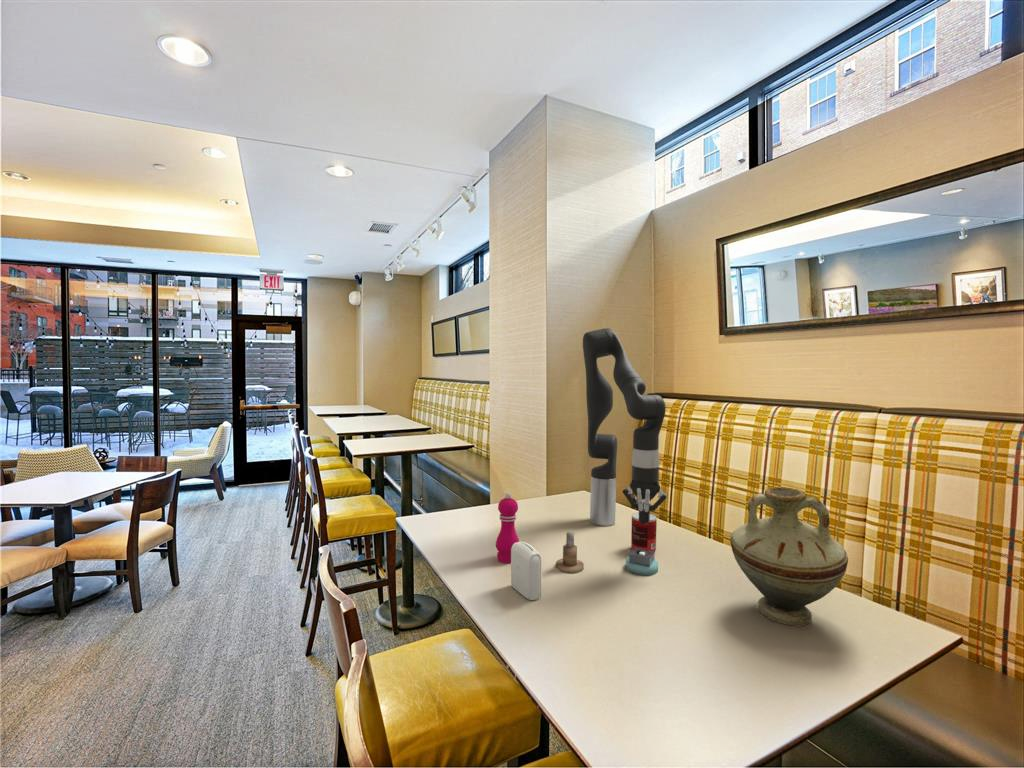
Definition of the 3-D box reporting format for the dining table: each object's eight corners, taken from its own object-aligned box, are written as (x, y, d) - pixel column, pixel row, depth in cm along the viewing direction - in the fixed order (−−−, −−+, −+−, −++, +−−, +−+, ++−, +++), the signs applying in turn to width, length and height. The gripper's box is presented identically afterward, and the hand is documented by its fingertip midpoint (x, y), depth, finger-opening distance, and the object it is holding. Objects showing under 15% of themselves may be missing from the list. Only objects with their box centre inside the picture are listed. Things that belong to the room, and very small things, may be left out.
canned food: (653, 546, 151) (653, 512, 151) (658, 555, 143) (659, 520, 143) (629, 544, 152) (629, 511, 152) (633, 554, 144) (633, 519, 144)
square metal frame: (629, 562, 133) (629, 554, 133) (634, 555, 138) (634, 547, 138) (649, 567, 130) (649, 558, 130) (654, 560, 135) (654, 551, 135)
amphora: (710, 600, 118) (708, 485, 114) (778, 577, 126) (778, 470, 123) (795, 658, 96) (796, 519, 92) (871, 626, 104) (874, 497, 101)
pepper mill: (516, 565, 135) (517, 497, 134) (492, 562, 137) (493, 495, 136) (521, 555, 142) (522, 491, 142) (498, 553, 144) (499, 489, 143)
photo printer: (508, 585, 122) (509, 539, 122) (522, 582, 124) (523, 536, 124) (528, 602, 113) (529, 552, 113) (543, 598, 115) (544, 549, 115)
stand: (551, 562, 137) (552, 529, 137) (576, 560, 139) (577, 527, 139) (562, 574, 129) (562, 539, 129) (588, 571, 131) (588, 536, 131)
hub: (620, 563, 137) (620, 548, 137) (646, 560, 140) (647, 545, 139) (636, 576, 128) (636, 560, 128) (664, 573, 131) (664, 557, 131)
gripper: (619, 464, 133) (618, 523, 134) (666, 469, 127) (665, 531, 127) (625, 459, 139) (624, 516, 140) (671, 464, 133) (670, 523, 134)
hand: (644, 523), depth 134 cm, fingers closed
